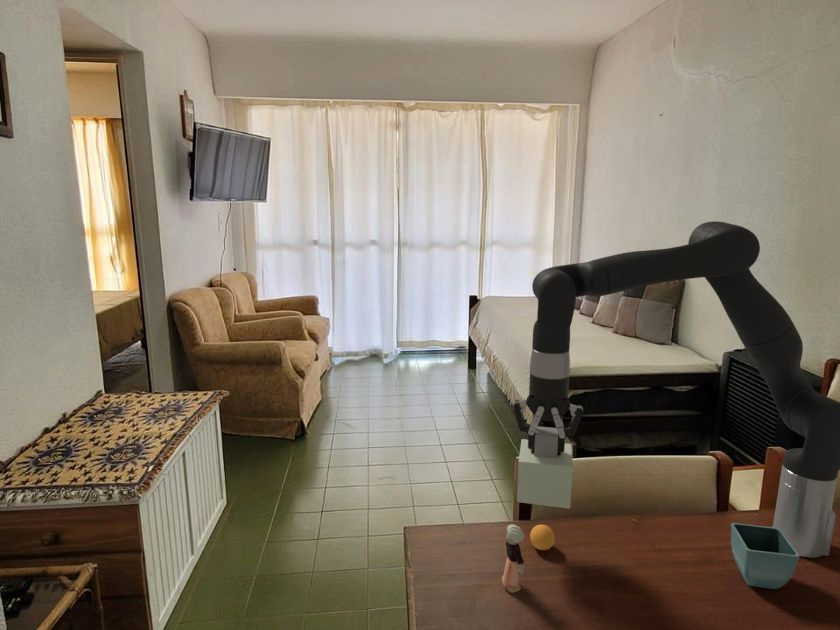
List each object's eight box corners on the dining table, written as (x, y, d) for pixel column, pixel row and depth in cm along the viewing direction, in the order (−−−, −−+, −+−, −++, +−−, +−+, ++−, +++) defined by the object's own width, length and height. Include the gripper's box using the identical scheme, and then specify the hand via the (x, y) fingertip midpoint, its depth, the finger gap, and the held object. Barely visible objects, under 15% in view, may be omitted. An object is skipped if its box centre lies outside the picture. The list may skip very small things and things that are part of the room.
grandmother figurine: (492, 576, 104) (494, 517, 101) (509, 570, 105) (511, 513, 103) (514, 602, 97) (517, 541, 94) (532, 596, 99) (535, 535, 96)
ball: (553, 542, 114) (555, 522, 113) (553, 557, 109) (556, 536, 108) (529, 538, 115) (532, 517, 114) (528, 552, 111) (531, 531, 109)
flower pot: (794, 599, 98) (801, 556, 96) (741, 592, 99) (747, 550, 98) (773, 567, 106) (779, 527, 104) (724, 562, 108) (730, 522, 106)
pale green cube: (568, 482, 113) (572, 423, 110) (570, 508, 104) (574, 445, 101) (520, 476, 116) (522, 419, 113) (517, 501, 106) (519, 439, 103)
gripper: (586, 368, 106) (581, 447, 110) (513, 363, 109) (511, 440, 113) (588, 380, 99) (583, 464, 103) (511, 374, 102) (508, 456, 106)
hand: (545, 451), depth 108 cm, fingers closed on pale green cube, 4 cm apart
